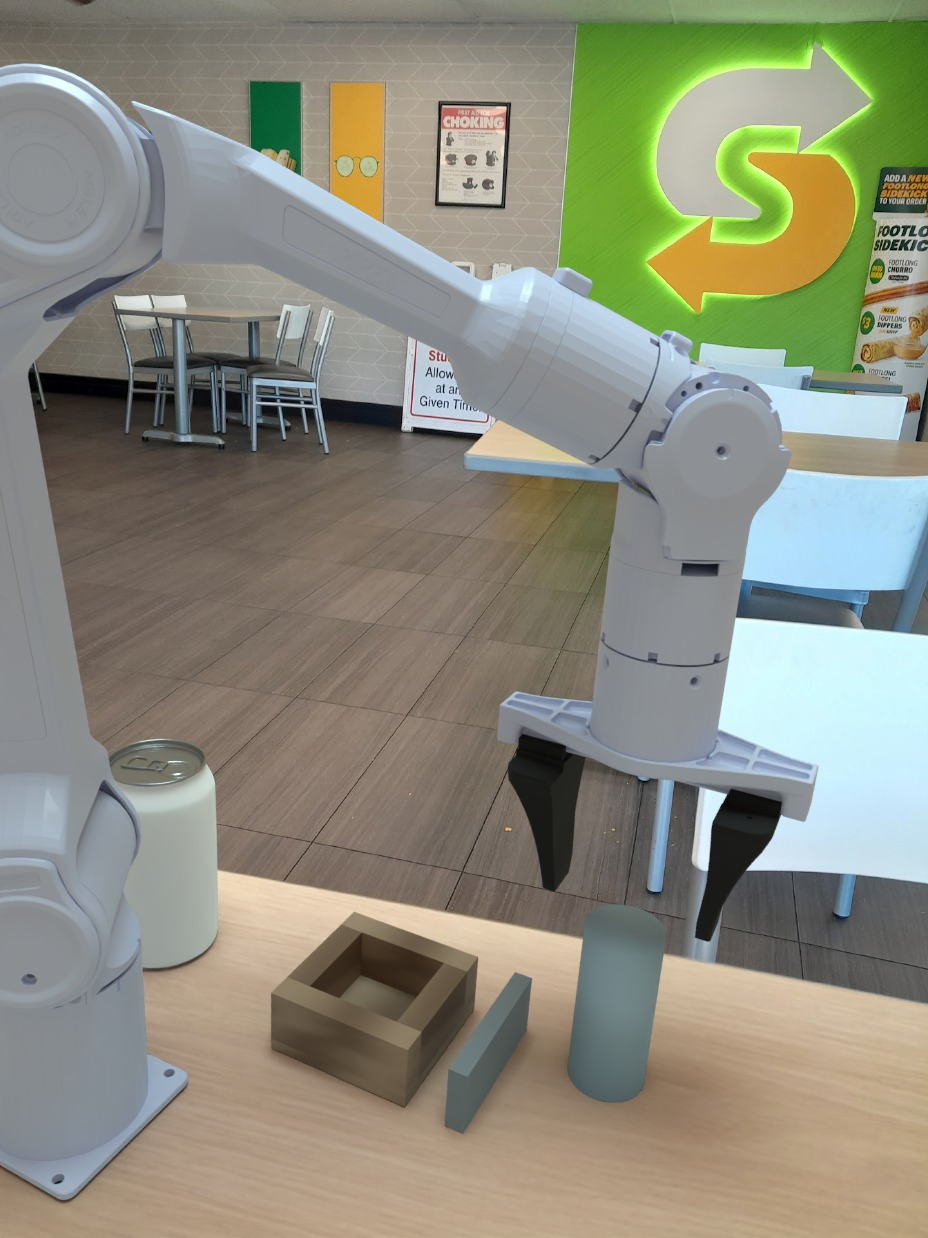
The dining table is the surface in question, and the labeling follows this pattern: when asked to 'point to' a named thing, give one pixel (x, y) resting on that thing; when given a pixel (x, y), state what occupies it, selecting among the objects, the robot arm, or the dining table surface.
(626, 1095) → the dowel
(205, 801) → the can
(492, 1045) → the backstop wall
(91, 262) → the robot arm
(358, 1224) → the dining table surface
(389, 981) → the frame
